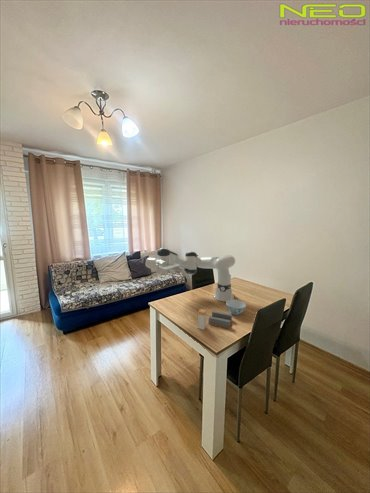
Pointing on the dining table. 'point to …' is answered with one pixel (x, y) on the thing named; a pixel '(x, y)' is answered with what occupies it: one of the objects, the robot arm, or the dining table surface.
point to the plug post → (202, 319)
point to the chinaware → (236, 306)
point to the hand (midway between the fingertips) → (178, 271)
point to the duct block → (220, 319)
